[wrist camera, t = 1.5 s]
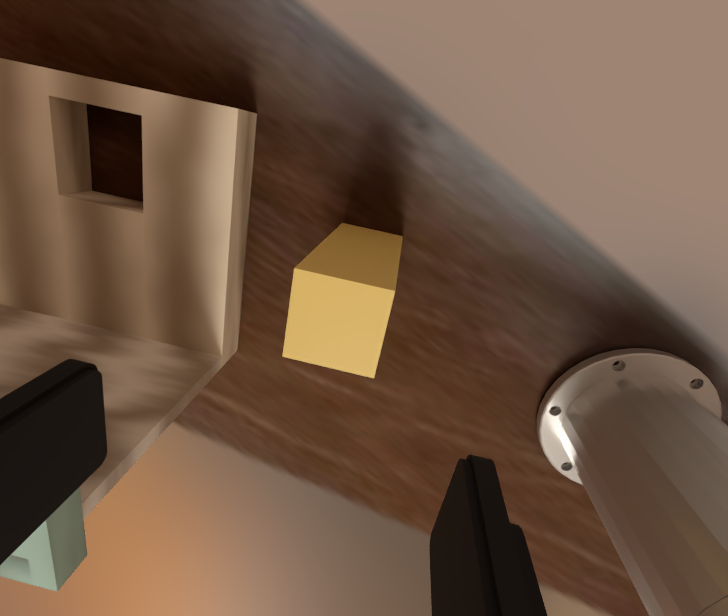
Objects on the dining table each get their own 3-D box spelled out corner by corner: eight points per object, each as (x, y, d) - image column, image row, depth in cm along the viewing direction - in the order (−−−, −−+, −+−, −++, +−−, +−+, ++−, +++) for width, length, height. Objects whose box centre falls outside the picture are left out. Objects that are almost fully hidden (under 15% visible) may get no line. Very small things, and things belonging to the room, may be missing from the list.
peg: (402, 236, 28) (395, 290, 17) (389, 293, 29) (373, 378, 18) (342, 222, 28) (294, 268, 17) (332, 280, 30) (282, 356, 18)
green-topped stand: (271, 116, 26) (-32, 36, 8) (248, 357, 33) (57, 591, 15) (-14, 56, 27) (-847, -137, 9) (23, 304, 34) (-406, 468, 16)
